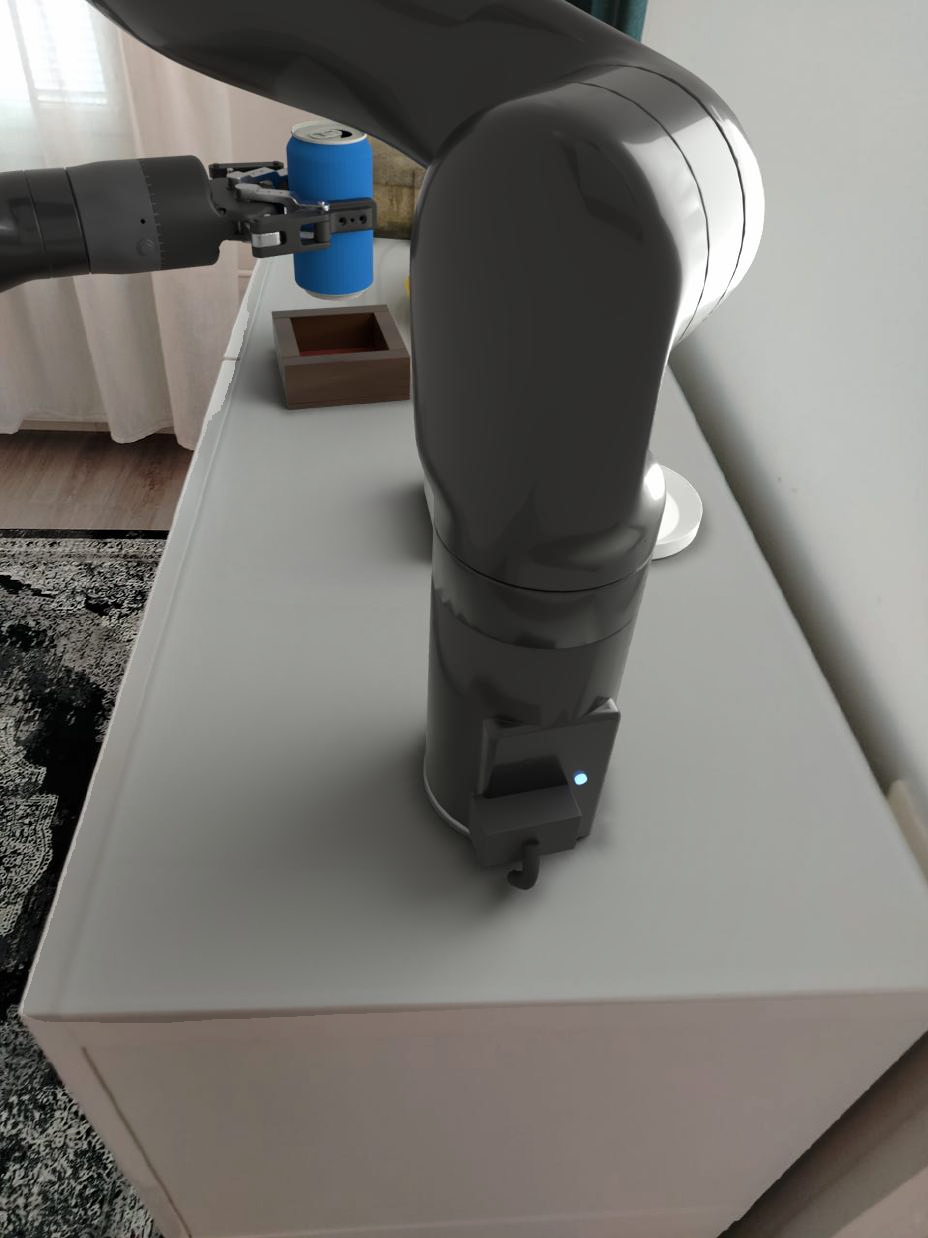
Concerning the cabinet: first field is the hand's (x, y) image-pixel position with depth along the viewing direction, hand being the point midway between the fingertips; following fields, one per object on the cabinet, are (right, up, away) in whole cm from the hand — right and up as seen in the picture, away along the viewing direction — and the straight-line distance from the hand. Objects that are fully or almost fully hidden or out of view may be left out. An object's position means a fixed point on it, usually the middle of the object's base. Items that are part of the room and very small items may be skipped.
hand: (359, 197), depth 71 cm
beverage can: (-3, -6, +4) cm, 8 cm away
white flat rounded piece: (+16, -26, -4) cm, 31 cm away
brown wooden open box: (-3, -12, +9) cm, 15 cm away
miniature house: (+1, +15, +39) cm, 41 cm away
